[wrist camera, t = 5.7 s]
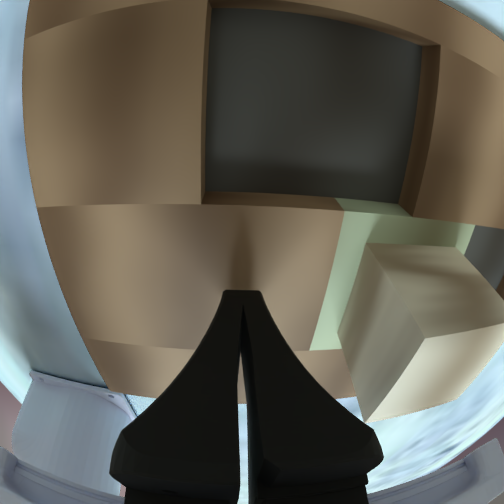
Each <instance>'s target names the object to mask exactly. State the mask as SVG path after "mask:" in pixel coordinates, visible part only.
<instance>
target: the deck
mask: <svg viewBox="0 0 504 504" xmlns="http://www.w3.org/2000/svg"><path fill="white" fill-rule="evenodd" d="M22 99H23V119H24V132H25V142H26V150H27V158H28V165H29V171H30V177H31V183H32V188H33V193H34V198H35V202H36V207H37V211H38V215H39V220H40V223H41V227H42V231H43V235H44V238H45V242H46V245H47V249H48V252H49V255H50V258H51V261H52V264H53V267H54V270H55V273H56V276H57V279H58V282H59V285H60V287H61V290H62V293H63V295H64V298H65V300H66V303H67V305H68V308H69V310H70V312H71V315H72V317H73V320H74V322H75V324H76V326H77V329H78V331H79V333H80V335H81V337H82V339H83V341H84V343H85V346H86V348H87V350H88V352H89V354H90V356H91V358H92V359H93V361H94V363H95V365H96V367H97V369H98V371H99V373H100V374H101V376H102V378H103V380H104V382H105V383H106V385H107V387H108V389H109V390H110V391H111V392H117V393H123V394H129V395H136V396H143V397H150V398H158V397H159V396H160V395H161V394H162V393H163V392H164V391H165V389H166V388H167V387H168V386H169V385H170V384H171V383H172V381H173V380H174V379H175V378H176V376H177V375H178V374H179V373H180V371H181V370H182V369H183V368H184V366H185V365H186V363H187V362H188V361H189V359H190V358H191V356H192V355H193V353H194V352H195V350H196V349H197V347H198V345H199V344H200V342H201V340H202V339H203V337H204V335H205V334H206V332H207V330H208V328H209V326H210V324H211V322H212V320H213V318H214V316H215V313H216V311H217V309H218V306H219V303H220V300H221V297H222V293H223V291H224V290H259V291H260V292H261V293H262V295H263V298H264V301H265V303H266V305H267V308H268V310H269V312H270V314H271V316H272V318H273V320H274V322H275V323H276V325H277V327H278V329H279V330H280V332H281V334H282V336H283V337H284V339H285V340H286V342H287V343H288V345H289V346H290V348H291V349H292V351H293V352H294V354H295V355H296V356H297V358H298V359H299V360H300V362H301V363H302V364H303V366H304V367H305V368H306V369H307V370H308V372H309V373H310V374H311V375H312V376H313V377H314V378H315V380H316V381H317V382H318V383H319V384H320V385H321V386H322V387H323V388H324V389H325V390H326V391H327V392H328V393H329V394H330V395H331V396H332V397H333V398H334V399H339V398H348V397H355V396H356V393H355V389H354V386H353V382H352V379H351V376H350V372H349V369H348V366H347V363H346V359H345V356H344V353H343V350H342V347H341V344H340V340H339V337H338V334H337V332H338V329H339V326H340V323H341V321H342V318H343V315H344V312H345V309H346V306H347V303H348V300H349V297H350V294H351V291H352V287H353V284H354V281H355V278H356V275H357V271H358V268H359V264H360V261H361V257H362V254H363V250H364V247H365V243H385V244H405V245H424V246H442V247H456V248H457V249H458V250H459V251H460V252H461V253H462V254H463V255H464V256H465V257H466V258H467V259H468V261H469V262H470V263H471V264H472V265H473V266H474V267H475V268H476V269H477V270H478V271H479V272H480V273H481V275H482V276H483V277H484V278H485V279H486V280H487V281H488V282H489V284H490V285H491V286H492V287H493V288H494V289H495V291H496V292H497V293H498V294H499V295H500V297H501V298H502V299H503V300H504V41H503V40H502V39H500V38H499V37H498V36H496V35H495V34H494V33H492V32H491V31H489V30H488V29H486V28H485V27H483V26H482V25H480V24H479V23H477V22H476V21H474V20H472V19H471V18H469V17H467V16H466V15H464V14H462V13H461V12H459V11H457V10H455V9H454V8H452V7H450V6H448V5H446V4H444V3H443V2H441V1H439V0H30V2H29V8H28V14H27V21H26V29H25V38H24V50H23V70H22ZM237 387H238V404H247V403H246V394H245V386H244V378H243V369H242V360H241V354H240V364H239V374H238V384H237Z"/></svg>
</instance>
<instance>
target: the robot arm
mask: <svg viewBox="0 0 504 504" xmlns="http://www.w3.org/2000/svg"><path fill="white" fill-rule="evenodd" d="M240 354H241V360H242V369H243V378H244V386H245V394H246V403H247V428H248V493H249V504H488V503H489V502H491V501H492V500H493V499H494V498H496V497H497V496H498V495H500V494H501V493H502V492H504V455H503V452H502V450H501V447H500V445H499V442H498V440H497V438H494V439H493V440H491V441H489V442H488V443H486V444H484V445H482V446H481V447H479V448H477V449H476V450H474V451H472V452H471V453H470V454H468V455H467V456H465V458H463V459H462V460H459V461H457V462H455V463H453V464H451V465H449V466H446V467H444V468H442V469H440V470H437V471H435V472H432V473H430V474H428V475H425V476H422V477H420V478H417V479H415V480H412V481H409V482H406V483H403V484H400V485H397V486H394V487H391V488H388V489H384V490H381V491H378V492H374V493H370V494H367V492H366V487H365V485H367V484H368V478H367V473H368V472H370V471H371V470H372V469H374V468H375V467H377V466H378V465H379V464H380V463H381V462H382V461H383V458H384V456H383V452H382V448H381V445H380V443H379V441H378V438H377V436H376V434H375V432H374V429H372V428H371V427H369V426H368V425H366V424H365V423H364V422H362V421H361V420H359V419H358V418H357V417H356V416H354V415H353V414H352V413H350V412H349V411H348V410H347V409H346V408H344V407H343V406H342V405H341V404H340V403H339V402H337V401H336V400H335V399H334V398H333V397H332V396H331V395H330V394H329V393H328V392H327V391H326V390H325V389H324V388H323V387H322V386H321V385H320V384H319V383H318V382H317V381H316V380H315V378H314V377H313V376H312V375H311V374H310V373H309V372H308V370H307V369H306V368H305V367H304V366H303V364H302V363H301V362H300V360H299V359H298V358H297V356H296V355H295V354H294V352H293V351H292V349H291V348H290V346H289V345H288V343H287V342H286V340H285V339H284V337H283V336H282V334H281V332H280V330H279V329H278V327H277V325H276V323H275V322H274V320H273V318H272V316H271V314H270V312H269V310H268V308H267V305H266V303H265V301H264V298H263V295H262V293H261V292H260V291H259V290H224V291H223V293H222V297H221V300H220V303H219V306H218V309H217V311H216V313H215V316H214V318H213V320H212V322H211V324H210V326H209V328H208V330H207V332H206V334H205V335H204V337H203V339H202V340H201V342H200V344H199V345H198V347H197V349H196V350H195V352H194V353H193V355H192V356H191V358H190V359H189V361H188V362H187V363H186V365H185V366H184V368H183V369H182V370H181V371H180V373H179V374H178V375H177V376H176V378H175V379H174V380H173V381H172V383H171V384H170V385H169V386H168V387H167V388H166V389H165V391H164V392H163V393H162V394H161V395H160V396H159V397H158V398H157V399H156V400H155V401H154V402H153V403H152V404H151V405H150V406H149V407H148V408H147V409H146V410H145V411H144V412H142V413H141V414H140V415H139V416H138V417H136V415H135V413H134V412H133V410H132V408H131V406H130V405H129V403H128V401H127V399H126V398H125V396H124V394H123V393H117V392H111V391H110V390H109V389H106V388H101V387H96V386H91V385H86V384H82V383H77V382H73V381H69V380H65V379H61V378H57V377H53V376H50V375H46V374H43V373H39V372H36V371H32V370H31V371H30V373H29V375H30V377H31V378H32V379H33V381H32V383H31V385H30V387H29V390H28V392H27V394H26V397H25V399H24V402H23V404H22V407H21V409H20V412H19V415H18V417H17V420H16V423H15V425H14V428H13V432H12V449H13V453H14V455H13V454H12V453H10V452H9V451H8V450H6V449H4V448H3V447H1V446H0V504H237V502H238V499H239V491H240V455H239V427H238V387H237V384H238V374H239V364H240ZM121 484H122V485H124V486H125V487H126V492H125V497H121V496H119V495H120V487H121Z"/></svg>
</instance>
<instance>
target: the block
mask: <svg viewBox="0 0 504 504" xmlns="http://www.w3.org/2000/svg"><path fill="white" fill-rule="evenodd" d="M337 334H338V337H339V340H340V344H341V347H342V350H343V353H344V356H345V359H346V363H347V366H348V369H349V372H350V376H351V379H352V382H353V386H354V389H355V393H356V396H357V399H358V403H359V406H360V410H361V414H362V417H363V421H364V423H370V422H375V421H380V420H385V419H389V418H394V417H398V416H402V415H406V414H410V413H414V412H418V411H421V410H425V409H428V408H431V407H435V406H438V405H441V404H444V403H447V402H450V401H453V400H456V399H457V398H458V397H459V396H460V395H461V394H462V393H463V392H464V391H465V390H466V389H467V387H468V386H469V385H470V384H471V383H472V382H473V381H474V379H475V378H476V377H477V376H478V375H479V373H480V372H481V371H482V370H483V369H484V367H485V366H486V365H487V364H488V362H489V361H490V360H491V358H492V357H493V356H494V354H495V353H496V352H497V350H498V349H499V348H500V346H501V345H502V343H503V342H504V300H503V299H502V298H501V297H500V295H499V294H498V293H497V292H496V291H495V289H494V288H493V287H492V286H491V285H490V284H489V282H488V281H487V280H486V279H485V278H484V277H483V276H482V275H481V273H480V272H479V271H478V270H477V269H476V268H475V267H474V266H473V265H472V264H471V263H470V262H469V261H468V259H467V258H466V257H465V256H464V255H463V254H462V253H461V252H460V251H459V250H458V249H457V248H456V247H442V246H424V245H405V244H385V243H365V247H364V250H363V254H362V257H361V261H360V264H359V268H358V271H357V275H356V278H355V281H354V284H353V287H352V291H351V294H350V297H349V300H348V303H347V306H346V309H345V312H344V315H343V318H342V321H341V323H340V326H339V329H338V332H337Z"/></svg>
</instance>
